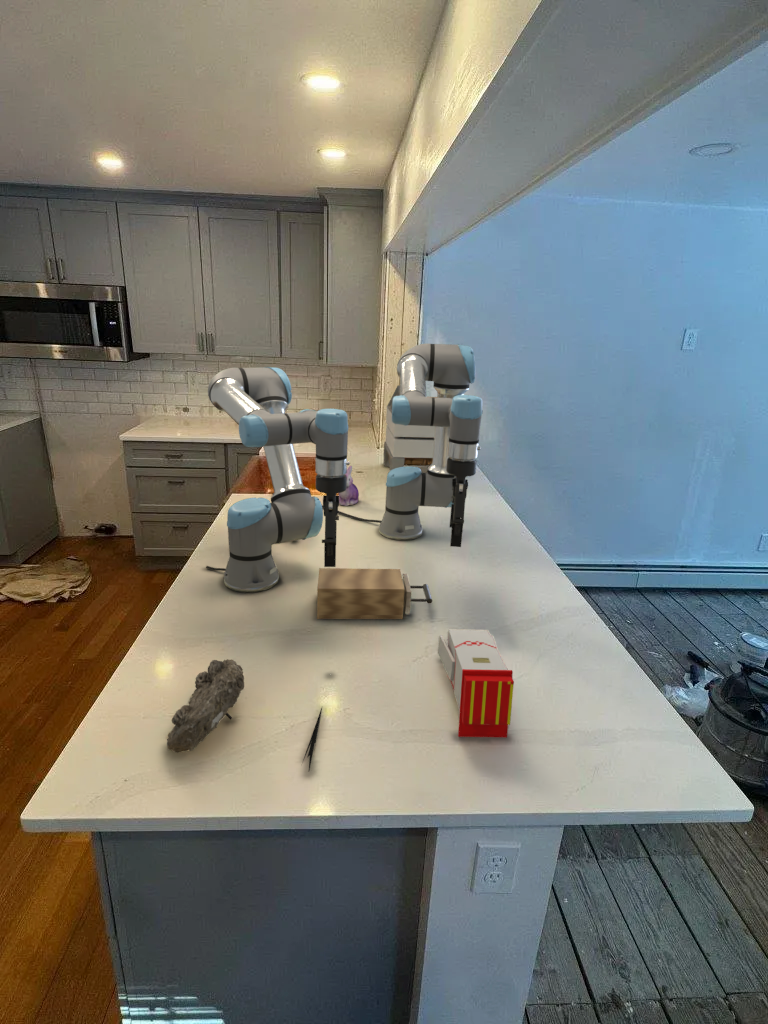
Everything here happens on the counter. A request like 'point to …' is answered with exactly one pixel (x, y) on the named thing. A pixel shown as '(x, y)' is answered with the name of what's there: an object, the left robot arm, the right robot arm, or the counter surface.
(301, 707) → the counter surface
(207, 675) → the fossil
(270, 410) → the left robot arm
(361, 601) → the cabinet
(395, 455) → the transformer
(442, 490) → the right robot arm
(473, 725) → the toy
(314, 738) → the feather
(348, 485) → the figurine
